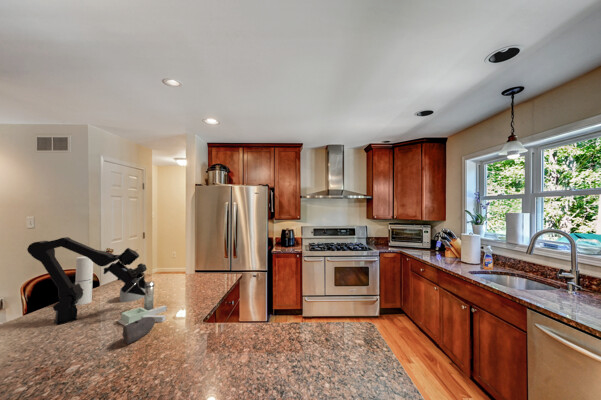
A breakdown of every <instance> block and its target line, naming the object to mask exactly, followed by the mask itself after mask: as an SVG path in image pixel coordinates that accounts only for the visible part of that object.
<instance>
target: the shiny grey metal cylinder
mask: <svg viewBox="0 0 601 400" xmlns="http://www.w3.org/2000/svg"><path fill="white" fill-rule="evenodd" d="M145 282H146V283H145V293H146V294H145V296H144V298H143V299H144V301H143V303H144V304H143V308H144V309H146V310H151V309H154V297H155V295H154V294H155V281H152V280H151V281H145Z"/></svg>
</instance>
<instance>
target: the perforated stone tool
mask: <svg viewBox="0 0 601 400" xmlns="http://www.w3.org/2000/svg"><path fill="white" fill-rule="evenodd" d="M155 323H156V322H155V319H154V318H153V317H146V318H143V319H140V320H137V321H134V322H132V323H130V324H128V325H126V326H124V325H123V326H122V337H123V342H124V343H125V344H128V345H129V344H131V343H134V342H136V341H138V340H139V339H141V338H142V337H144V336H145V335H147V334H148V333H149V332H150V331H151V330H152V329H153V328H154V326H155Z"/></svg>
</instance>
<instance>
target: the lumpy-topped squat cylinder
mask: <svg viewBox="0 0 601 400" xmlns="http://www.w3.org/2000/svg"><path fill="white" fill-rule="evenodd" d="M122 287H123V286H122ZM122 287H120V290H119V302H120V303H130V302H134V301H135V302H136V301H138V300H141V299H144V296H145V295H144V296H143V295H138V294H132V293H127V292H128V291H129V290H127V291H126V292H125V293H124V292H122V291H121V288H122ZM141 289H142V290H143V291H144V292H145V289H143V288H141Z"/></svg>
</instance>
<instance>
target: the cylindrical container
mask: <svg viewBox="0 0 601 400" xmlns="http://www.w3.org/2000/svg"><path fill="white" fill-rule="evenodd" d="M75 260H76V262H75V264H76V265H75V282H74V284H75V285H76V284H78V283H79V284H80V286H81V288H82V289H83V296H82V298H81V299H79V300H78V302H77V303H76V304H75V305H76V306H83V305H86V304H89V303H90V304H91V303H92V300H93V299H92V298H93V297H92V296H93V279H94V262H92V261H91V260H90V259H89V258H88V257H85V256H83V255H82V256H77V257H76V259H75Z"/></svg>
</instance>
